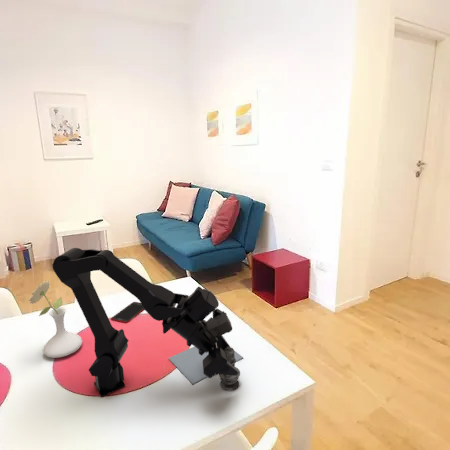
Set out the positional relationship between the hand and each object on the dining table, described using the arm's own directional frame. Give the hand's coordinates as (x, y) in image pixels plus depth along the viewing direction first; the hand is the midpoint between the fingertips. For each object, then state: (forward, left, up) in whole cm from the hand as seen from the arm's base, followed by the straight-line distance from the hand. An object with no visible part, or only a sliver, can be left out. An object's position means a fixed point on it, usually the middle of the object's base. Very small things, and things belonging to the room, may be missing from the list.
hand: (234, 362), depth 88 cm
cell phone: (-7, +56, -7) cm, 57 cm away
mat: (0, +14, -7) cm, 15 cm away
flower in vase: (-34, +46, -7) cm, 57 cm away
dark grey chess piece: (-1, +1, -7) cm, 7 cm away
